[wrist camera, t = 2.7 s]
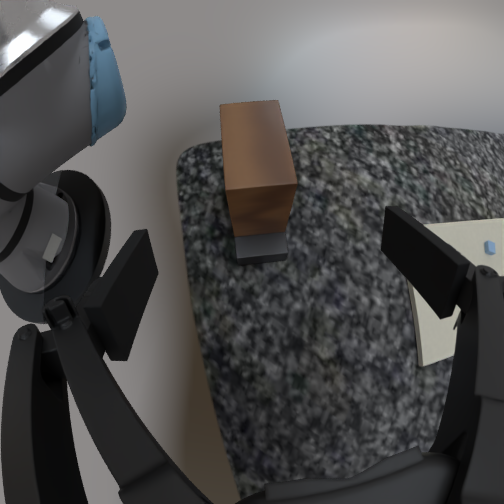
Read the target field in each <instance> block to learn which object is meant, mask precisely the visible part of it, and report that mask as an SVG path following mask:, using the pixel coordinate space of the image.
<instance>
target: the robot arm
mask: <svg viewBox="0 0 504 504" xmlns="http://www.w3.org/2000/svg"><path fill="white" fill-rule="evenodd" d="M110 45H111V44H110V41H109V38H108V33H107V30H106V28H105V25H104V23H103V21H102V19H101V18H100V17H98V16H95V17H88V18H86V20H84V21H83V19H82V17H81V14H80V12H79V9H78V7H76V6H71V5H65V4H58V3H57V2H55V1H54V0H0V274H1V275H2V276H3V277H4V278H5V279H7V280H8V281H9V282H10V283H11V284H12V285H13V286H14V287H16V288H17V289H19V290H21V291H24V292H27V293H30V294H40V293H44V292H46V291H48V290H50V289H51V288H53V287H54V286H55V285H56V284H57V283H58V282H59V281H60V280H61V279H62V278H63V277H64V275H65V274H66V272H67V271H68V269H69V268H70V266H71V264H72V262H73V260H74V257H75V255H76V252H77V249H78V245H79V241H80V235H81V217H80V212H79V209H78V206H77V204H76V202H75V201H74V200H73V199H72V197H70V196H69V195H68V194H67V193H66V192H65V191H63V190H61V189H59V188H57V187H55V186H51V185H48V184H44V183H41V181H42V180H43V179H44V178H46V177H47V176H48V175H49V174H51V173H52V172H53V171H54V170H56V169H57V168H58V167H60V166H61V165H62V164H63V163H65V162H66V161H68V160H69V159H70V158H72V157H73V156H74V155H76V154H77V153H79V152H80V151H81V150H83V149H84V148H86V147H87V146H89V145H90V146H93V145H94V144H95V143H96V141H97V140H98V139H99V138H101V137H102V136H104V135H105V134H106V133H108V132H110V131H111V130H112V129H114V128H116V127H117V126H118V125H119V124H120V123H121V122H122V121H123V118H124V116H125V113H126V98H125V93H124V89H123V85H122V81H121V77H120V73H119V69H118V66H117V62H116V59H115V56H114V52H113V50H112V48H111V47H110ZM381 251H382V252H383V253H384V254H385V255H386V256H387V257H388V258H389V259H390V260H391V262H392V263H393V264H394V265H395V266H396V267H397V268H398V269H399V271H400V272H401V273H402V274H403V275H404V276H405V277H406V279H407V280H408V281H409V282H410V283H411V284H412V286H413V287H414V288H415V289H416V290H417V291H418V293H419V294H420V295H421V296H422V298H423V299H424V300H425V301H426V302H427V304H428V305H429V306H430V307H431V309H432V310H433V311H434V312H435V314H436V315H437V316H438V317H439V319H440V320H441V319H444V318H447V317H451V316H452V315H453V312H454V310H455V307H456V305H457V306H458V307H459V308H460V309H461V310H460V313H459V315H458V318H457V320H456V322H455V325H454V327H453V330H455V328H456V327H457V334H456V344H455V352H454V359H453V366H452V372H451V378H450V383H449V388H448V393H447V398H446V402H445V407H444V411H443V415H442V419H441V422H440V426H439V430H438V433H437V436H436V439H435V441H434V443H433V445H432V447H431V448H430V450H429V452H422V453H421V450H420V448H419V445H418V446H416V447H413V448H411V449H408V450H406V451H403V452H401V453H398V454H395V455H392V456H390V457H387V458H385V459H383V460H382V461H380V462H378V463H377V464H375V465H373V466H372V467H370V468H368V469H366V470H365V471H363V472H361V473H359V474H357V475H355V476H353V477H351V478H343V479H314V478H304V479H298V480H292V481H285V482H277V483H267V484H264V486H265V490H264V491H261V492H258V493H255V494H253V495H250V496H248V497H246V498H244V499H242V500H240V501H238V502H237V503H236V504H504V276H499V275H498V273H497V272H496V271H495V270H494V269H492V268H491V267H489V266H486V265H477V266H475V265H474V264H473V263H472V262H470V261H469V260H468V259H467V258H466V257H465V256H463V255H461V253H460V252H459V251H456V249H455V248H454V247H452V246H451V245H450V244H448V243H446V242H445V241H444V240H442V239H441V238H440V237H438V236H437V235H436V234H435V233H433V232H432V231H431V230H429V229H428V228H427V227H425V226H424V225H423V224H421V223H420V222H419V221H417V220H416V219H414V218H413V217H412V216H410V215H409V214H408V213H406V212H405V211H403V210H402V209H400V208H399V207H398V206H385V217H384V226H383V235H382V243H381ZM157 276H158V269H157V266H156V262H155V258H154V254H153V250H152V247H151V243H150V239H149V235H148V230H147V229H144V230H136V231H134V232H133V233H132V235H131V236H130V237H129V239H128V240H127V241H126V243H125V244H124V246H123V247H122V248H121V250H120V251H119V253H118V254H117V256H116V257H115V259H114V260H113V262H112V263H111V264H110V266H109V267H108V269H107V270H106V272H105V274H104V275H103V277H98V278H97V279H96V280H95V281H94V282H92V283H91V284H90V286H89V287H88V289H87V290H86V291H87V292H85V293H84V295H83V297H82V298H81V300H80V301H79V303H78V304H77V306H76V308H75V306H74V304H73V301H72V299H71V298H70V297H69V296H67V295H61V296H58V297H55V298H53V299H52V300H50V301H49V302H48V303H47V304H45V306H44V307H43V309H42V314H43V316H44V318H45V319H46V321H47V323H48V325H49V327H50V328H51V330H49V331H45V332H41V333H40V331H39V330H38V328H37V327H36V325H35V324H27V325H25V326H22V327H21V328H19V329H18V331H17V332H16V333H15V335H14V337H13V341H12V345H11V350H10V356H9V361H8V367H7V373H6V380H5V387H4V397H3V407H2V422H1V423H2V424H1V462H2V476H3V486H4V495H5V502H6V504H88V501H87V498H86V494H85V491H84V487H83V483H82V479H81V475H80V471H79V466H78V462H77V457H76V452H75V447H74V441H73V434H72V428H71V420H70V412H69V402H68V391H67V381H68V384H69V387H70V389H71V392H72V394H73V397H74V399H75V402H76V404H77V407H78V409H79V411H80V414H81V416H82V418H83V420H84V423H85V425H86V426H87V429H88V431H89V433H90V435H91V437H92V439H93V441H94V443H95V445H96V447H97V449H98V451H99V452H100V454H101V456H102V458H103V460H104V462H105V463H106V465H107V466H108V469H109V470H110V472H111V474H112V475H113V477H114V478H115V480H116V482H117V483H118V485H119V488H120V490H119V492H118V494H119V497H120V499H121V501H122V502H123V504H213V503H212V502H211V501H210V500H209V499H208V498H207V497H206V496H205V495H204V494H203V493H201V491H200V490H199V489H197V487H196V486H195V485H194V484H193V483H192V482H191V481H190V480H189V479H188V478H187V477H186V476H185V474H184V473H183V472H182V471H181V470H180V469H179V468H178V466H177V465H176V464H175V463H174V462H173V461H172V459H171V458H170V457H169V456H168V455H167V453H166V452H165V451H164V450H163V449H162V447H161V446H160V445H159V444H158V442H157V441H156V439H155V438H154V437H153V436H152V434H151V433H150V432H149V430H148V429H147V427H146V426H145V425H144V423H143V422H142V421H141V419H140V418H139V416H138V415H137V413H136V412H135V410H134V409H133V407H132V406H131V404H130V403H129V401H128V400H127V398H126V397H125V395H124V394H123V392H122V390H121V389H120V387H119V386H118V384H117V382H116V381H115V379H114V377H113V376H112V374H111V372H110V370H109V369H108V367H107V365H106V363H105V362H104V360H103V355H104V353H105V351H106V353H107V354H108V356H109V358H110V360H111V361H127V360H128V357H129V354H130V351H131V348H132V344H133V341H134V339H135V336H136V333H137V330H138V327H139V324H140V321H141V318H142V316H143V313H144V310H145V307H146V305H147V302H148V299H149V297H150V294H151V291H152V289H153V286H154V283H155V281H156V278H157Z"/></svg>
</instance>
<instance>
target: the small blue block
mask: <svg viewBox="0 0 504 504" xmlns="http://www.w3.org/2000/svg"><path fill="white" fill-rule="evenodd" d="M484 244H485V253H486V254H489V255H494V254H496V251H495V243H494V242H491V241H489V240H488V241H486V242H484Z"/></svg>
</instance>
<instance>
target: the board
mask: <svg viewBox="0 0 504 504" xmlns="http://www.w3.org/2000/svg"><path fill="white" fill-rule="evenodd" d="M424 226H425V227H427V228H428V229H429V230H431V231H432V232H433V233H435V234H436V235H437V236H438V237H440V238H441V239H442V240H444V241H445V242H446V243H448V244H450V245H451V246H452V247H454V248H455V249H456V251H459V252H460V253H461V255H463V256H465V257H466V258H467V259H468V260H469V261H470V262H472V263H473V264H474V265H475V266H477V265H486V266H489V267H491V268H492V269H494V270H495V271H496V272H497V273H498V275H499V276H504V218H500V219H487V220H474V221H461V222H449V223H437V224H426V225H424ZM488 240H489V241H491V242H494V243H495V251H496V254H494V255H489V254H486V253H485V244H484V242H486V241H488ZM407 283H408V288H409V294H410V300H411V306H412V312H413V319H414V326H415V334H416V342H417V352H418V363H419V366H426V365H429V364H432V363H435V362H437V361H440V360H443V359H445V358H448V357H450V356H453V355H454V352H455V344H456V334H457V327H456V328H455V330H453V327H454V325H455V322H456V320H457V318H458V315H459V313H460V310H461V309H460V308H459V307H458V306H457V305H456V307H455V310H454V312H453V315H452V316H451V317H447V318H444V319H441V320H440V319H439V317H438V316H437V315H436V314H435V312H434V311H433V310H432V309H431V307H430V306H429V305H428V304H427V302H426V301H425V300H424V299H423V298H422V296H421V295H420V294H419V293H418V291H417V290H416V289H415V288H414V287H413V286H412V284H411V283H410V282H409V281H408V280H407Z"/></svg>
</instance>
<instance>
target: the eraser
mask: <svg viewBox="0 0 504 504" xmlns="http://www.w3.org/2000/svg"><path fill="white" fill-rule="evenodd" d="M220 119H221V120H220V121H221V136H222V152H223V167H224V180H225V191H226V196H227V202H228V207H229V212H230V217H231V222H232V227H233V232H234V237H235V248H236V258H237V262H238V265H248V264H257V263H266V262H276V261H285V260H286V258H287V255H288V247H287V240H286V234H285V230H286V226H287V223H288V219H289V215H290V211H291V207H292V203H293V199H294V195H295V191H296V188H297V184H298V183H297V178H296V173H295V169H294V164H293V160H292V155H291V151H290V146H289V142H288V138H287V134H286V129H285V125H284V121H283V118H282V113H281V109H280V105H279V102H278V100H270V101H253V102H241V103H231V104H222V105H220Z"/></svg>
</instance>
